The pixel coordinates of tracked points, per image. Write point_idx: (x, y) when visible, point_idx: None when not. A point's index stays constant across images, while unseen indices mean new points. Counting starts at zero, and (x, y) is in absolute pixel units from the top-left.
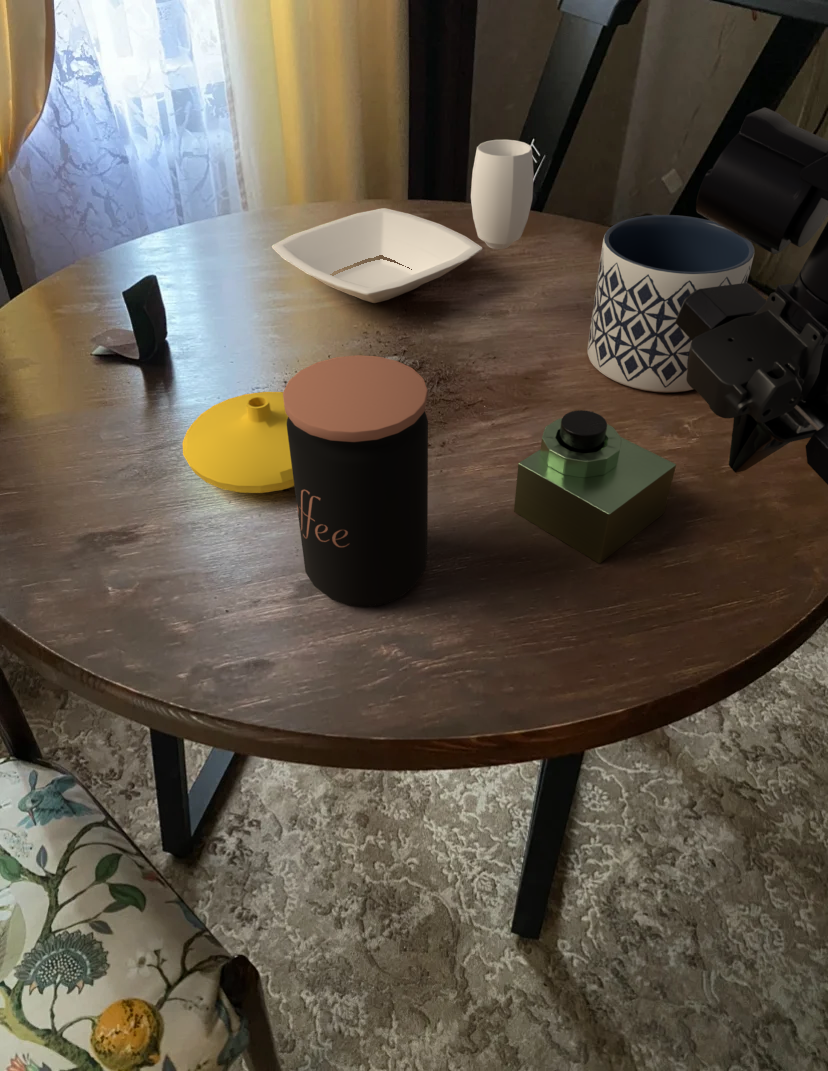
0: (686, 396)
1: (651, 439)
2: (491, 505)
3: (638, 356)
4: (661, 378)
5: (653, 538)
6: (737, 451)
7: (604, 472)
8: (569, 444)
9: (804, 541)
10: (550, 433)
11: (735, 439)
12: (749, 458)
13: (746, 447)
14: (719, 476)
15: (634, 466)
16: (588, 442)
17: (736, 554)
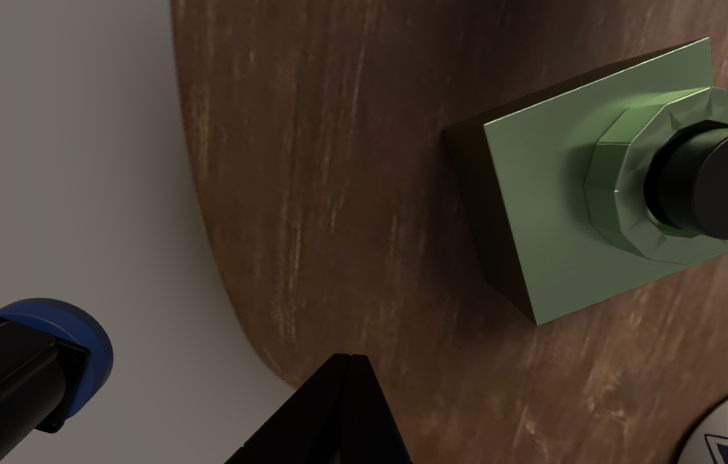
0: (670, 448)
1: (624, 355)
2: (638, 37)
3: None
4: (726, 440)
5: (451, 237)
6: (343, 398)
7: (587, 186)
8: (698, 133)
9: None
10: None
11: (371, 425)
12: (279, 410)
13: (300, 432)
14: (512, 392)
15: (572, 253)
16: (679, 166)
17: (374, 322)
